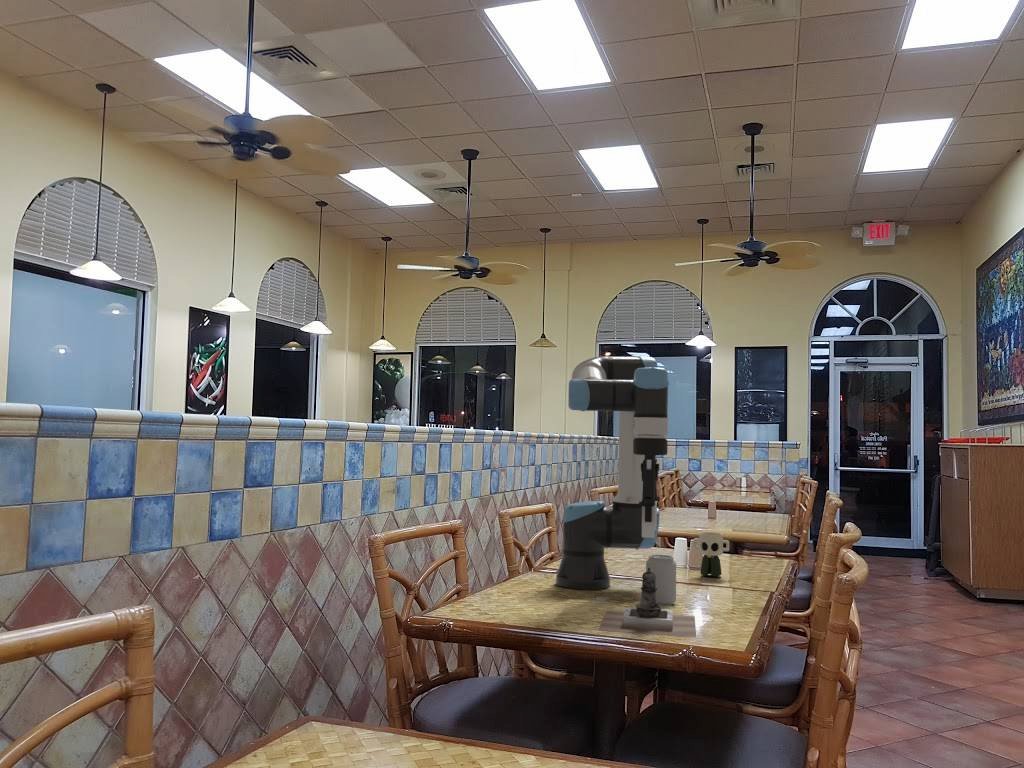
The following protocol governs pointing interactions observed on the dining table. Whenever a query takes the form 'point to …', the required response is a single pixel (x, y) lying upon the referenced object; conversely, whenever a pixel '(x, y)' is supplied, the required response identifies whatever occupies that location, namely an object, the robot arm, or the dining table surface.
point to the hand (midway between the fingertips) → (649, 533)
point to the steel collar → (648, 620)
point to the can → (663, 578)
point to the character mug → (711, 552)
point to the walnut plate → (680, 628)
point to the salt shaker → (648, 597)
